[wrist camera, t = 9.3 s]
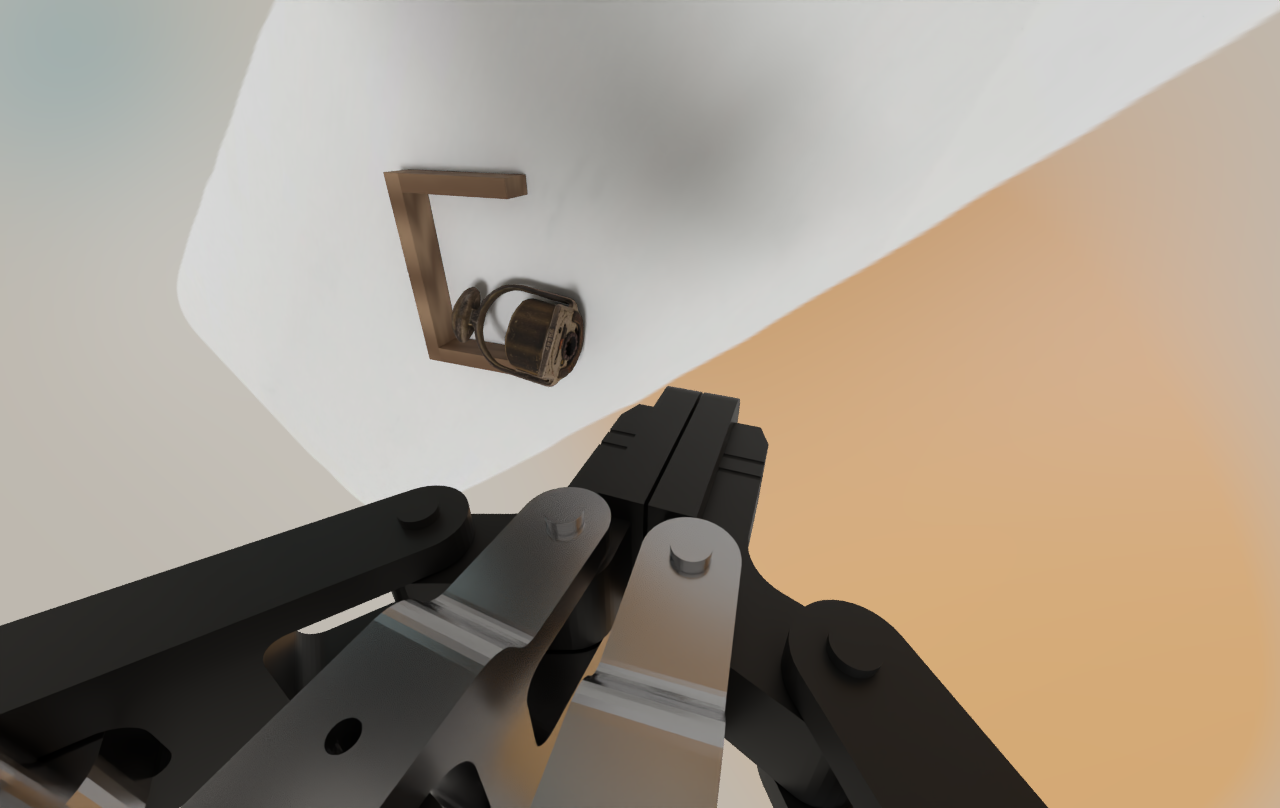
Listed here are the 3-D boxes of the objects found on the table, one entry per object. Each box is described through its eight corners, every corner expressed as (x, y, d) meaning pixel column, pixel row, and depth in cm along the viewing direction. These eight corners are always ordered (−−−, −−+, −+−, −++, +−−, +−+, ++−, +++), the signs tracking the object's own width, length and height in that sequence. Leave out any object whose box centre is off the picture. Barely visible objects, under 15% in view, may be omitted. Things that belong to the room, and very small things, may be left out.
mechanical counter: (599, 275, 44) (608, 382, 43) (500, 304, 50) (507, 398, 49) (547, 253, 37) (557, 378, 37) (442, 290, 44) (449, 397, 43)
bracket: (409, 169, 42) (383, 172, 40) (525, 174, 39) (504, 178, 36) (449, 347, 51) (429, 359, 49) (546, 365, 48) (530, 378, 45)
